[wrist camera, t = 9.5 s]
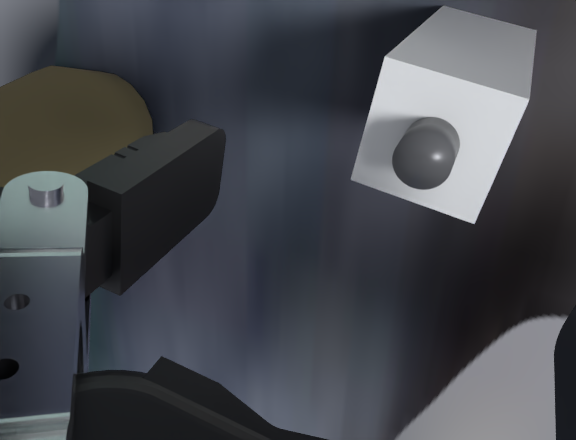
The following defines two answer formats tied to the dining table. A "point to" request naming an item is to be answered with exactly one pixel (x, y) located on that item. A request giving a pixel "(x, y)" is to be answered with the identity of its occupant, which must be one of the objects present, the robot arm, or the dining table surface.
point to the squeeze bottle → (66, 120)
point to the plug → (447, 111)
